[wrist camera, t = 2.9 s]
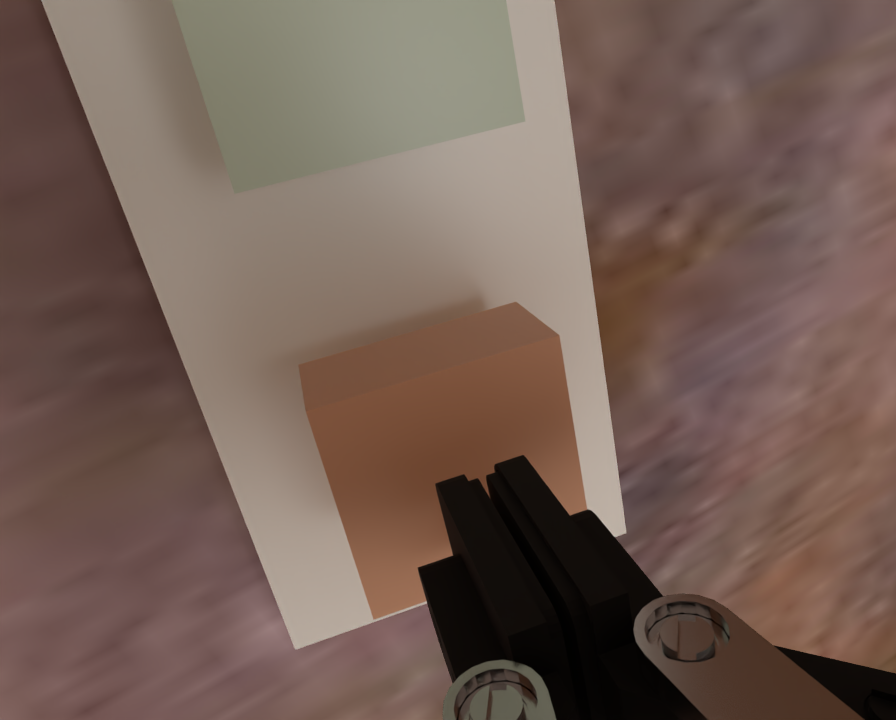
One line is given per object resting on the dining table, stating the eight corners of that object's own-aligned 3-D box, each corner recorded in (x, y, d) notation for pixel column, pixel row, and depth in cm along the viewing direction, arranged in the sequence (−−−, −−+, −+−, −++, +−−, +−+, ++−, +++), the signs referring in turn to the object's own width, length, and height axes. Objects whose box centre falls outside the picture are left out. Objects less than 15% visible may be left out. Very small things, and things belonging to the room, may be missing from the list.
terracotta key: (298, 364, 15) (305, 411, 13) (516, 301, 16) (559, 335, 14) (358, 550, 17) (373, 619, 15) (549, 486, 18) (592, 542, 16)
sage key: (140, -125, 12) (112, -181, 9) (429, -176, 12) (468, -238, 10) (238, 177, 14) (234, 193, 11) (482, 118, 14) (525, 121, 12)
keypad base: (-352, -1088, 10) (-494, -1365, 8) (359, -1067, 11) (379, -1297, 9) (292, 602, 21) (295, 649, 19) (596, 498, 23) (626, 532, 21)
